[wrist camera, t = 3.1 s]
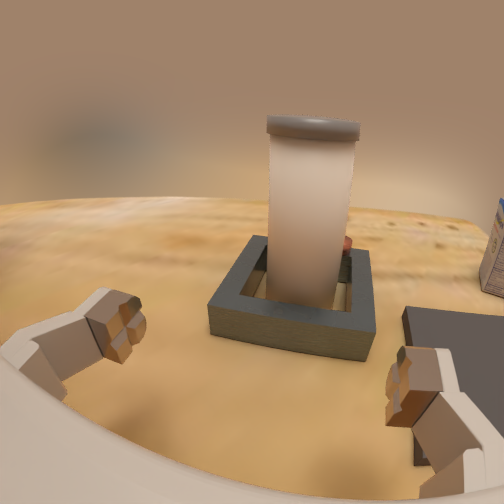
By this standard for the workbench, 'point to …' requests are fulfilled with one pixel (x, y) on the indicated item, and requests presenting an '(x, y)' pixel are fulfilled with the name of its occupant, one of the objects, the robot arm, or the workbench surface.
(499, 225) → the medicine box
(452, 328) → the mat
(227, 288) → the housing
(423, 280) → the workbench surface
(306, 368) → the workbench surface
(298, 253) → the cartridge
